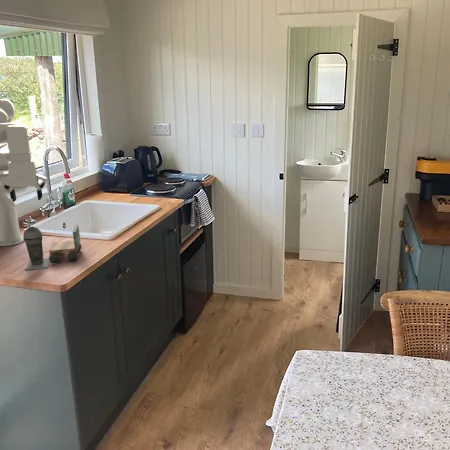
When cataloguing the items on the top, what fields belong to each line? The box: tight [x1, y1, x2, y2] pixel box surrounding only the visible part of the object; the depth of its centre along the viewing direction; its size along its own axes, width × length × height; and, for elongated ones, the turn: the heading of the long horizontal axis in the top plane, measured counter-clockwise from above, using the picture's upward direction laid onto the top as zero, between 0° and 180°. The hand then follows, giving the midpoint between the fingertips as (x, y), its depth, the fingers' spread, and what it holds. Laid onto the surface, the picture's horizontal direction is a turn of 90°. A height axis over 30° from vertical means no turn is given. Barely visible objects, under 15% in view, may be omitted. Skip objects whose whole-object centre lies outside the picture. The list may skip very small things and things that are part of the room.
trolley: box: [48, 224, 82, 265], centre depth 208 cm, size 12×13×12 cm
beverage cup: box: [22, 216, 44, 265], centre depth 200 cm, size 7×7×20 cm
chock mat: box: [24, 257, 51, 271], centre depth 203 cm, size 9×10×1 cm
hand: (27, 199), depth 198 cm, fingers open, 9 cm apart
